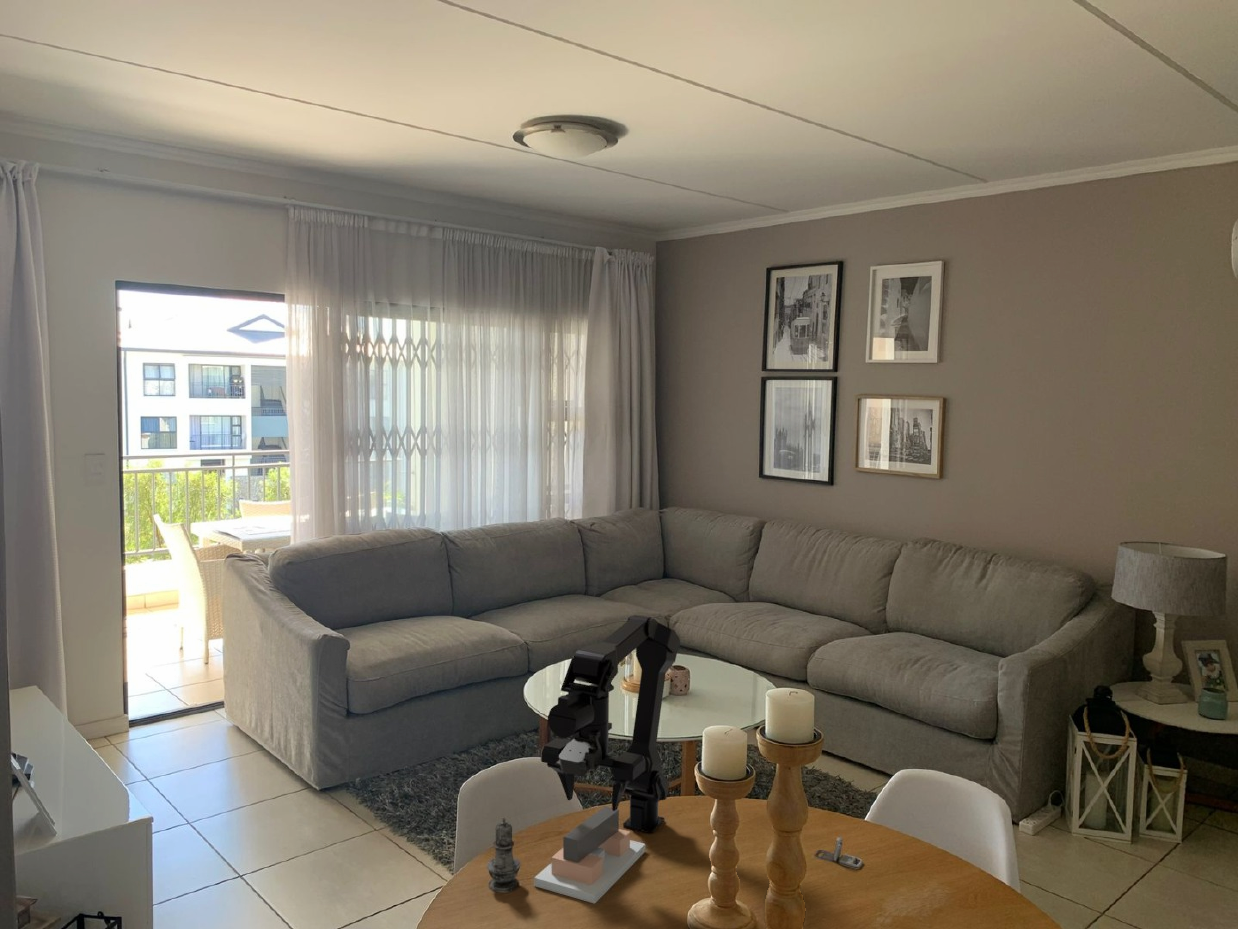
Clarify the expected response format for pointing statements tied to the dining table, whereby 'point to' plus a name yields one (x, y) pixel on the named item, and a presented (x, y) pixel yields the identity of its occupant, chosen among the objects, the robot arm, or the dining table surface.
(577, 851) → the frame bar
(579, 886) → the display stand
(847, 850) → the dining table surface
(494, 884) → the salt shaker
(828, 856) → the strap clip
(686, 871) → the dining table surface
